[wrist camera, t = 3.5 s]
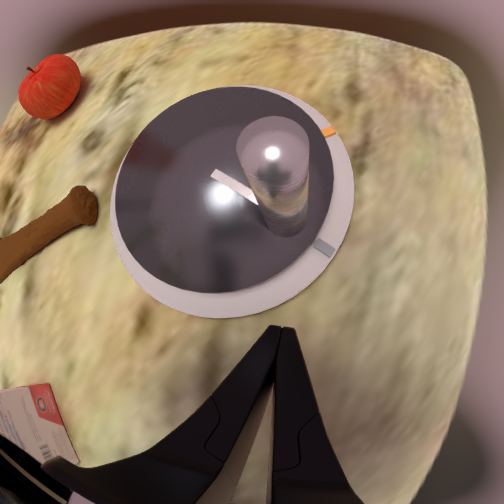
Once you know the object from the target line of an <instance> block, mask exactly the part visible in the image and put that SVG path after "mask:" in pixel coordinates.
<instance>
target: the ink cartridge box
mask: <svg viewBox="0 0 504 504" xmlns="http://www.w3.org/2000/svg"><path fill="white" fill-rule="evenodd" d="M0 433H2V434H3V435H4V436H6V437H7V438H8V439H10V440H11V441H13V442H14V443H16V444H17V445H18V446H20V447H21V448H22V449H24V450H25V451H26V452H28V453H29V454H30V455H32V456H33V457H34V458H36V459H37V460H38V461H40V462H41V463H42V464H43V463H44V462H46V461H47V460H49V459H51V458H53V457H56V456H58V455H60V456H62V457H63V458H65V459H67V460H68V461H70V462H72V463H73V464H75V465H76V464H77V463H78V462H79V460H78V458H77V456H76V454H75V452H74V449H73V447H72V445H71V442H70V440H69V438H68V435H67V433H66V430H65V428H64V425H63V423H62V420H61V417H60V415H59V412H58V409H57V406H56V403H55V400H54V397H53V394H52V391H51V388H50V386H49V384H48V383H46V384H39V385H30V386H22V387H16V388H10V389H4V390H0Z"/></svg>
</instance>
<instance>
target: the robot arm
mask: <svg viewBox="0 0 504 504" xmlns="http://www.w3.org/2000/svg"><path fill="white" fill-rule="evenodd" d="M273 384H274V387H273ZM272 388H273V403H272V421H271V438H270V454H269V468H268V482H267V495H266V504H364V503H363V501H362V500H361V499H360V498H359V497H358V496H357V495H356V494H355V492H354V491H353V489H352V488H351V486H350V484H349V482H348V480H347V478H346V476H345V474H344V472H343V470H342V468H341V466H340V463H339V461H338V459H337V457H336V455H335V452H334V450H333V448H332V446H331V443H330V441H329V438H328V436H327V433H326V430H325V427H324V424H323V421H322V417H321V414H320V412H319V407H318V404H317V401H316V397H315V394H314V390H313V387H312V384H311V380H310V377H309V374H308V370H307V367H306V364H305V360H304V357H303V354H302V350H301V347H300V344H299V340H298V337H297V334H296V331H295V329H294V328H291V327H283V328H282V327H281V326H276V325H270V326H269V327H268V328H267V329H266V330H265V332H264V333H263V334H262V335H261V336H260V338H259V339H258V340H257V341H256V343H255V344H254V345H253V346H252V347H251V349H250V350H249V351H248V352H247V353H246V355H245V356H244V357H243V358H242V359H241V361H240V362H239V363H238V364H237V365H236V366H235V368H234V369H233V370H232V371H231V372H230V373H229V375H228V376H227V377H226V378H225V379H224V380H223V382H222V383H221V384H220V385H219V386H218V387H217V388H216V390H215V391H214V392H213V393H212V395H210V396H209V397H208V398H207V400H206V401H205V402H204V403H203V404H202V405H201V406H200V407H199V408H198V409H197V410H196V411H195V412H194V413H193V414H192V415H191V416H190V417H189V418H188V419H186V420H185V421H184V422H183V423H182V424H181V425H179V426H178V427H177V428H176V429H175V430H173V431H172V432H171V433H170V434H168V435H167V436H166V437H165V438H163V439H162V440H161V441H159V442H158V443H157V444H156V445H154V446H153V447H151V448H150V449H148V450H146V451H144V452H142V453H140V454H137V455H134V456H131V457H128V458H125V459H122V460H119V461H115V462H112V463H109V464H105V465H102V466H98V467H93V468H83V467H79V466H77V465H75V464H73V463H72V462H70V461H68V460H67V459H65V458H63V457H62V456H60V455H58V456H56V457H53V458H51V459H49V460H47V461H46V462H44V463H43V464H42V463H41V462H40V461H38V460H37V459H36V458H34V457H33V456H32V455H30V454H29V453H28V452H26V451H25V450H24V449H22V448H21V447H20V446H18V445H17V444H16V443H14V442H13V441H11V440H10V439H8V438H7V437H6V436H4V435H3V434H2V433H0V504H229V503H230V501H231V499H232V496H233V494H234V491H235V489H236V488H235V487H236V486H237V484H238V481H239V479H240V476H241V474H242V471H243V469H244V466H245V464H246V461H247V458H248V456H249V453H250V450H251V448H252V445H253V442H254V440H255V437H256V434H257V431H258V429H259V426H260V423H261V420H262V417H263V414H264V412H265V409H266V406H267V403H268V400H269V397H270V394H271V391H272Z"/></svg>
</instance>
